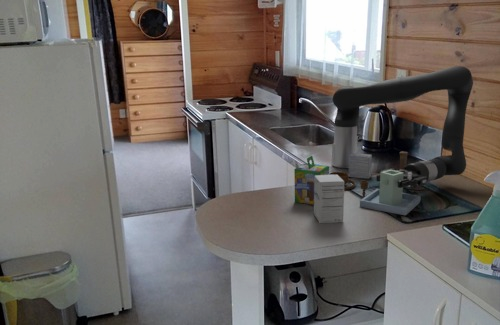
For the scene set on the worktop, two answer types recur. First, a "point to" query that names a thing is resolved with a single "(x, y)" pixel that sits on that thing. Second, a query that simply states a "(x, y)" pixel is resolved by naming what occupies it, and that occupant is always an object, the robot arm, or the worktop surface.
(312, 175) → the chalk box
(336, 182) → the supplement box
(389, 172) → the green square vase
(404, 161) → the post
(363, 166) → the medicine box
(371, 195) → the tray
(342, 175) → the place setting
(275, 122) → the worktop surface
